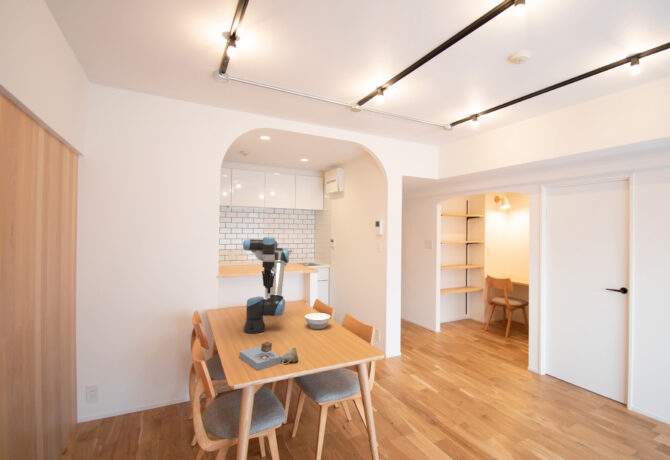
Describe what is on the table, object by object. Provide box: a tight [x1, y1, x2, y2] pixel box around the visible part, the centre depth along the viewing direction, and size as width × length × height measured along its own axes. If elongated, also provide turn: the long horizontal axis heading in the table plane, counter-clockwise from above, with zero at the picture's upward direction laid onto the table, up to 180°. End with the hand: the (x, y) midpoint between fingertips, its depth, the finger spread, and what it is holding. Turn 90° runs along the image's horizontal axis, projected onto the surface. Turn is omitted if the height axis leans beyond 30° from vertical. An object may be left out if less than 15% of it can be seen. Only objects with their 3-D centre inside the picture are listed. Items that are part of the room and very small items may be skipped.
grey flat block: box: [238, 345, 282, 371], centre depth 169 cm, size 21×14×4 cm, turn 42°
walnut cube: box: [260, 341, 273, 352], centre depth 174 cm, size 4×4×4 cm
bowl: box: [304, 312, 332, 330], centre depth 230 cm, size 19×20×8 cm
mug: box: [280, 347, 299, 366], centre depth 168 cm, size 8×10×10 cm
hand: (267, 298), depth 195 cm, fingers closed
